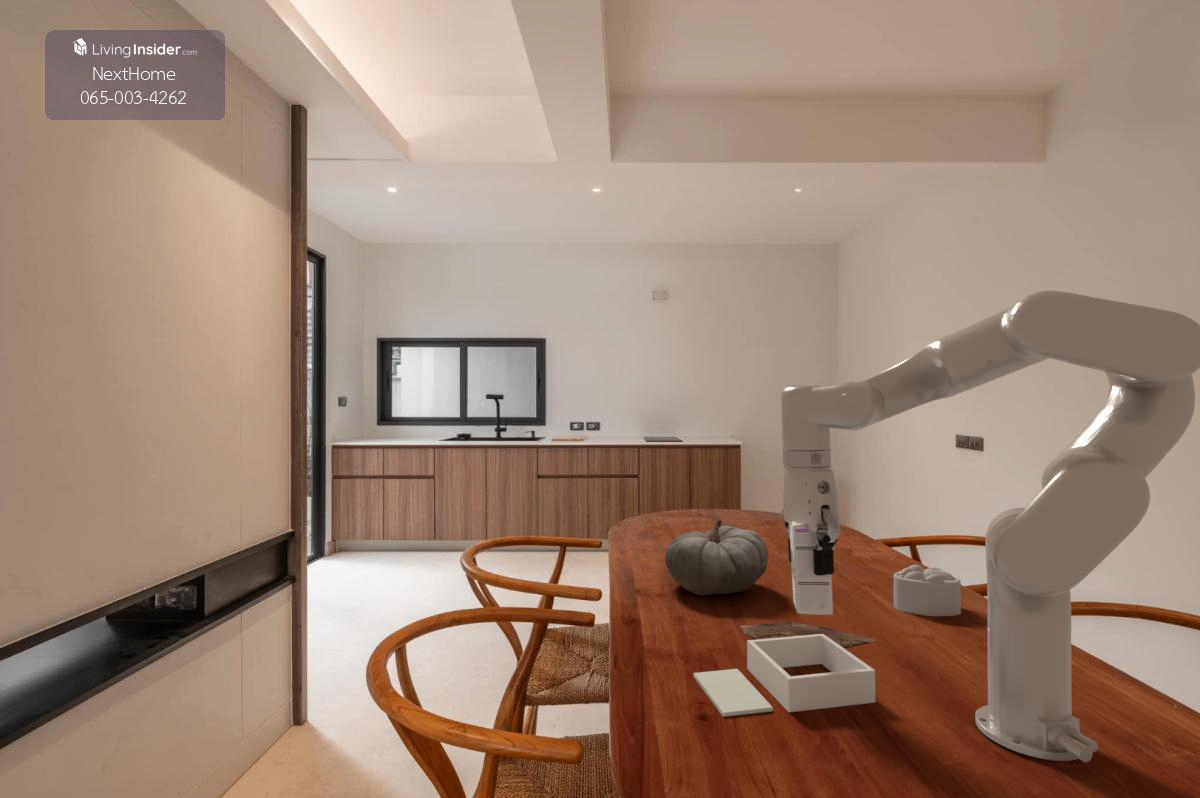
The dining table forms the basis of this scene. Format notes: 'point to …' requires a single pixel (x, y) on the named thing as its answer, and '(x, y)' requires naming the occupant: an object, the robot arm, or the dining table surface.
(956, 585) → the lumpy-topped squat cylinder
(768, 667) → the square frame
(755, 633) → the wooden fragment
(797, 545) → the syrup box
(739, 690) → the mat
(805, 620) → the dining table surface
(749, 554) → the gourd
